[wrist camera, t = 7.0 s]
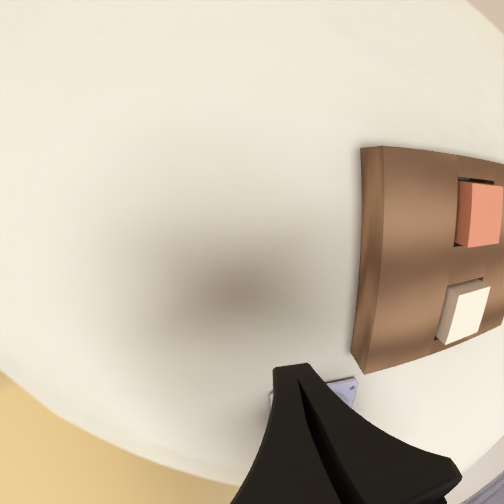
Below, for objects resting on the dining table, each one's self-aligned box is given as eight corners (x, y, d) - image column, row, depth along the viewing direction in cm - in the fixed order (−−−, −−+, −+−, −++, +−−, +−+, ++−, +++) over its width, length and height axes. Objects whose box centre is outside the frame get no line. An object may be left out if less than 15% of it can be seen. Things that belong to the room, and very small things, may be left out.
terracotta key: (470, 232, 18) (498, 243, 15) (438, 235, 18) (467, 247, 15) (474, 181, 17) (503, 186, 14) (440, 178, 17) (472, 183, 13)
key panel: (484, 312, 22) (500, 324, 19) (350, 352, 21) (363, 374, 18) (504, 167, 17) (525, 170, 15) (360, 148, 16) (382, 146, 14)
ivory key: (455, 314, 21) (477, 331, 17) (423, 324, 20) (445, 345, 17) (465, 271, 19) (490, 286, 16) (432, 278, 19) (458, 295, 16)
